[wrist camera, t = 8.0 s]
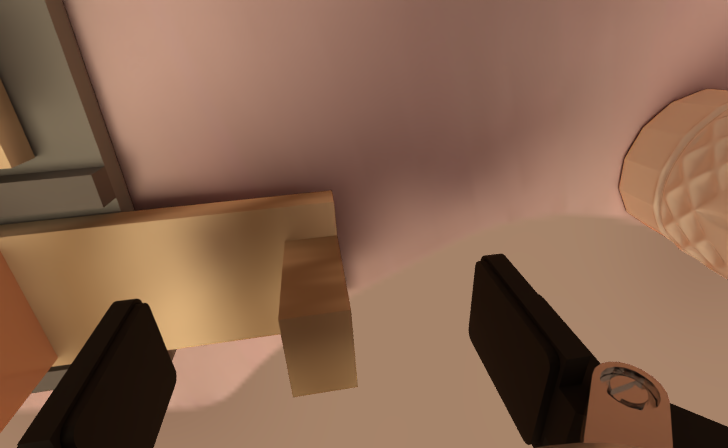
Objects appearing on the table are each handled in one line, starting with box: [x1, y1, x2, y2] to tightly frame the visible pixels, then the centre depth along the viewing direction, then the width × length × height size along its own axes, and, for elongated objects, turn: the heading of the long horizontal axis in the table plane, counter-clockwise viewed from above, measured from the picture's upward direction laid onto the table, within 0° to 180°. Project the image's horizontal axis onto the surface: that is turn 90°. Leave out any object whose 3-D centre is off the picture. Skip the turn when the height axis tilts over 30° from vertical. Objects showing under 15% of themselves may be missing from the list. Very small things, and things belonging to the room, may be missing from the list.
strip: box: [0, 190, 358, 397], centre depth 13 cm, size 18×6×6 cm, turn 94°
